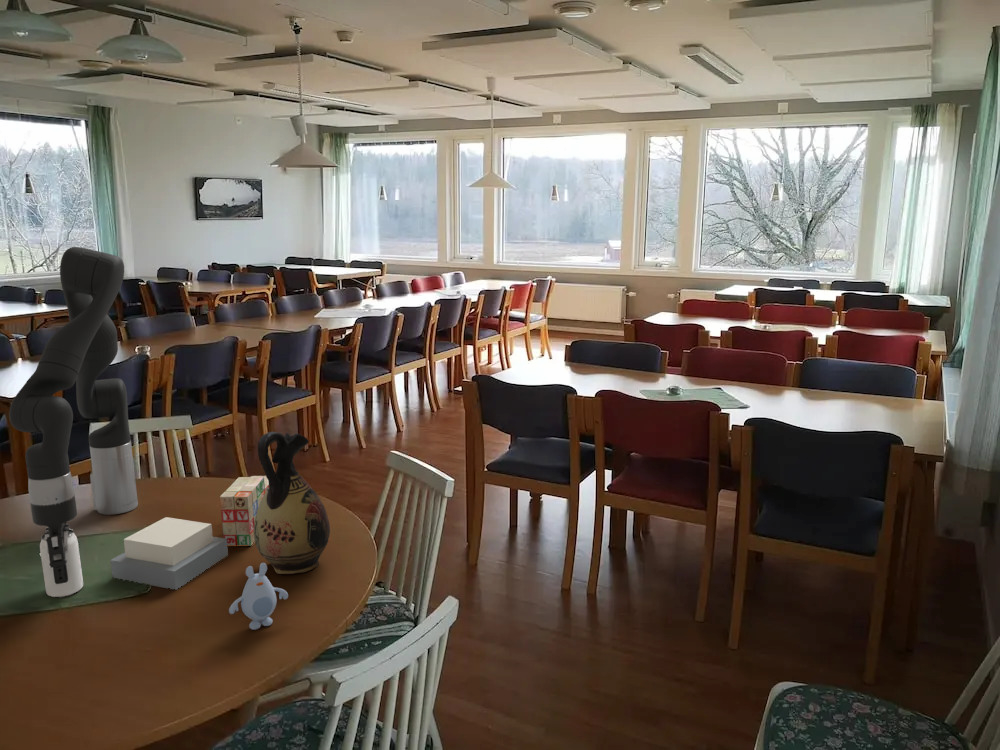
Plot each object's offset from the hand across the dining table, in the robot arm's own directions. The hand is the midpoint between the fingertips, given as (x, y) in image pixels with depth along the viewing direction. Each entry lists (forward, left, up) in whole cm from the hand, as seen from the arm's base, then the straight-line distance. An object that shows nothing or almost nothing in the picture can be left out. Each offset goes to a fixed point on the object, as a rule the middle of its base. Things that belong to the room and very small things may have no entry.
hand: (63, 573), depth 152 cm
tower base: (+13, +15, -4) cm, 20 cm away
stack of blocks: (+17, +38, -4) cm, 41 cm away
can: (0, 0, -4) cm, 4 cm away
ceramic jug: (+37, +23, -4) cm, 44 cm away
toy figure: (+45, +1, -4) cm, 45 cm away
